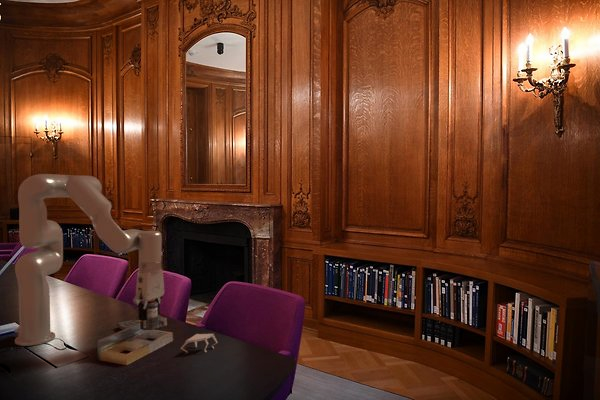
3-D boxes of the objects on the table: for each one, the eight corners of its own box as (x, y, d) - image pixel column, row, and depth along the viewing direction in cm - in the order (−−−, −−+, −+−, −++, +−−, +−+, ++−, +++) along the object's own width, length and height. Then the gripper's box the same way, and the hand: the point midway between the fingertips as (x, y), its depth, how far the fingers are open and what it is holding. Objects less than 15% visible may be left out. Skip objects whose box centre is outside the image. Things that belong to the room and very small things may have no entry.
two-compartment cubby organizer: (96, 359, 147) (96, 341, 147) (145, 336, 169) (145, 320, 169) (126, 365, 143) (126, 346, 143) (172, 340, 165) (172, 324, 165)
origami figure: (201, 343, 163) (201, 329, 162) (218, 348, 158) (218, 334, 158) (174, 354, 153) (174, 339, 152) (192, 359, 148) (192, 344, 148)
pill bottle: (142, 325, 164) (143, 294, 164) (159, 325, 165) (160, 294, 164) (138, 331, 158) (138, 298, 158) (155, 331, 159) (156, 298, 158)
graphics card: (154, 311, 191) (167, 317, 182) (154, 320, 191) (167, 326, 182) (113, 319, 180) (124, 326, 171) (113, 329, 180) (124, 336, 171)
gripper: (142, 271, 151) (141, 325, 152) (173, 263, 167) (173, 312, 168) (123, 269, 154) (123, 322, 155) (156, 261, 170) (156, 309, 171)
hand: (149, 316), depth 161 cm, fingers closed on pill bottle, 6 cm apart
